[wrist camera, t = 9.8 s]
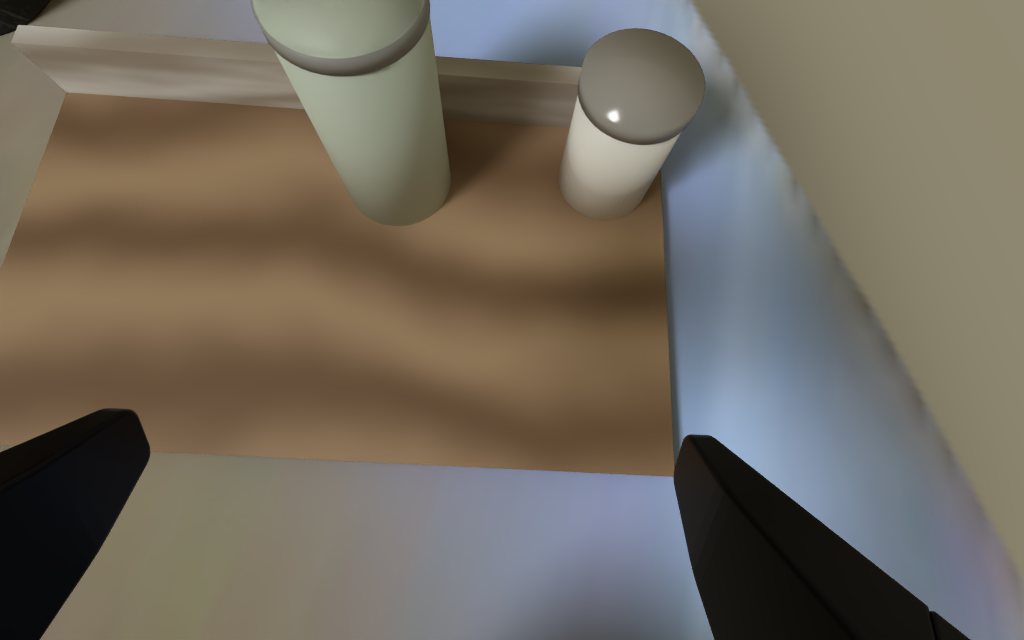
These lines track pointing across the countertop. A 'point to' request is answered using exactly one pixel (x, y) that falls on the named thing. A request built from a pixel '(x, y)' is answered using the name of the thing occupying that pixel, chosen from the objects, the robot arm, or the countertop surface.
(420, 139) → the tea tin
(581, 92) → the salt jar
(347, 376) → the shelf board
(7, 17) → the travel mug
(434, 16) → the countertop surface
